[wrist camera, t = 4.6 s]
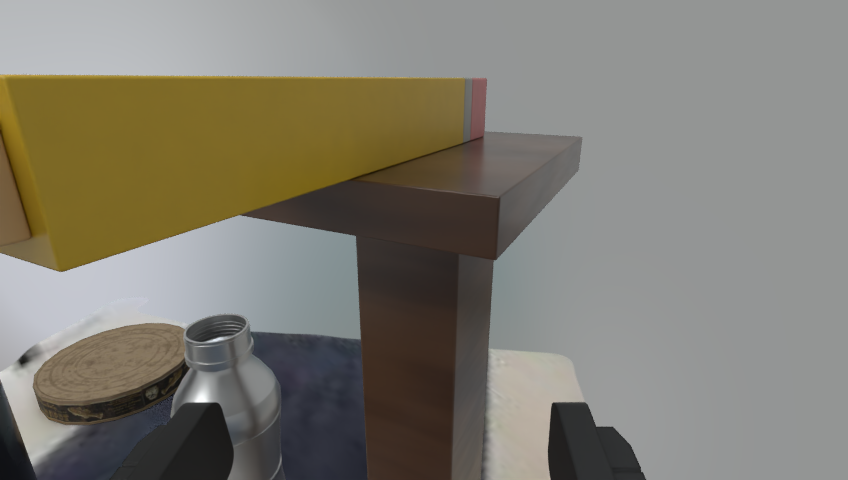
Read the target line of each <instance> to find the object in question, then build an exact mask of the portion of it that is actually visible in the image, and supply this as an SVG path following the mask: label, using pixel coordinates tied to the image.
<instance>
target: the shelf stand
mask: <svg viewBox="0 0 848 480" xmlns="http://www.w3.org/2000/svg"><path fill="white" fill-rule="evenodd" d="M581 144H582V137H575V136H557V135H556V136H555V135H539V134H521V133H503V132H485V131H484V136H483V137H480V138H477V139H474V140H471V141H468V142H465V143H462V144H459V145H456V146H453V147H449V148H446V149H443V150H440V151H437V152H434V153H431V154H428V155H425V156H421V157H418V158H415V159H412V160H409V161H406V162H403V163H400V164H397V165H393V166H390V167H387V168H384V169H381V170H378V171H375V172H372V173H369V174H365V175H362V176H359V177H356V178H353V179H350V180H347V181H344V182H341V183H337V184H334V185H331V186H328V187H325V188H322V189H319V190H316V191H313V192H309V193H306V194H303V195H300V196H297V197H294V198H291V199H288V200H285V201H281V202H278V203H275V204H272V205H269V206H266V207H263V208H260V209H256V210H253V211H250V212H247V213H244V214H241V215H242V216H247V217H253V218H259V219H265V220H270V221H276V222H282V223H287V224H292V225H298V226H304V227H309V228H315V229H321V230H326V231H332V232H338V233H343V234H349V235H355V236H356V246H357V267H358V286H359V308H360V329H361V350H362V371H363V392H364V413H365V433H366V454H367V475H368V480H480V479H481V462H482V445H483V429H484V412H485V396H486V379H487V362H488V345H489V328H490V312H491V295H492V279H493V262H494V260H497V258H498V257H499V256H500V255H501V254H502V253H503V252H504V251H505V250H506V249H507V247H509V245H510V244H511V243H512V242H513V241H514V240H515V239H516V238H517V237H518V236H519V235H520V233H521V232H522V231H523V230H524V229H525V228H526V227H527V226H528V225H529V224H530V223H531V221H532V220H533V219H534V218H535V217H536V216H537V215H538V213H540V212H541V211H542V209H543V208H544V207H545V206H546V205H547V204H548V203H549V202H550V201H551V200H552V199H553V197H554V196H555V195H556V194H557V193H558V192H559V191H560V190H561V189H562V188H563V187H564V185H565V184H566V183H567V182H568V181H569V180H570V179H571V178H572V177H573V176H574V175H575V173H576V172H577V171H578V169H579V161H580V152H581Z"/></svg>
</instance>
